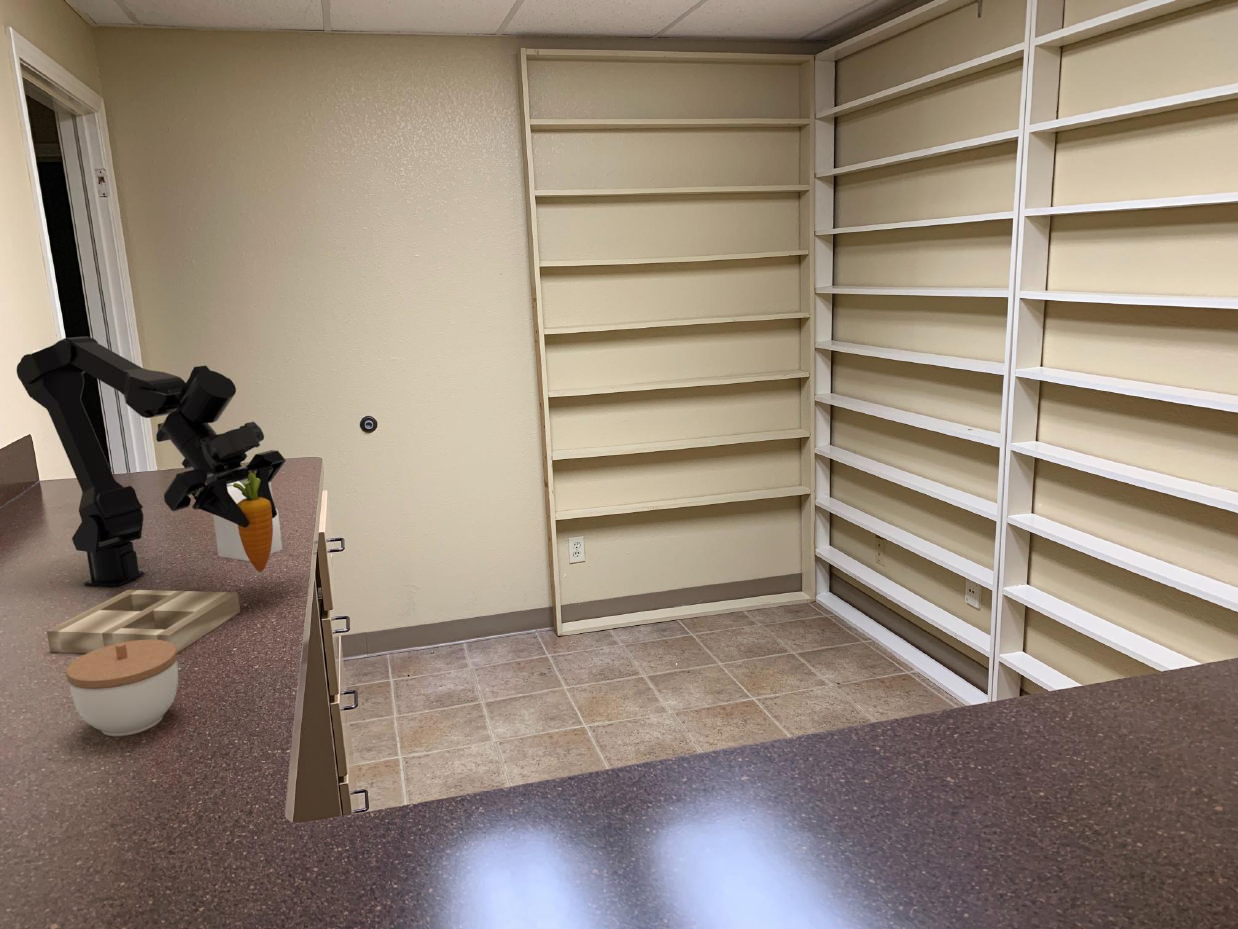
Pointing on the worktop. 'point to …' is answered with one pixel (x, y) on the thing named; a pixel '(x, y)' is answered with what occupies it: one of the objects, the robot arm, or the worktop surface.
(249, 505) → the carrot
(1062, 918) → the worktop surface
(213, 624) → the socket board
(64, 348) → the robot arm
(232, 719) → the worktop surface
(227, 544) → the white angular block
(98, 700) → the lidded jar
